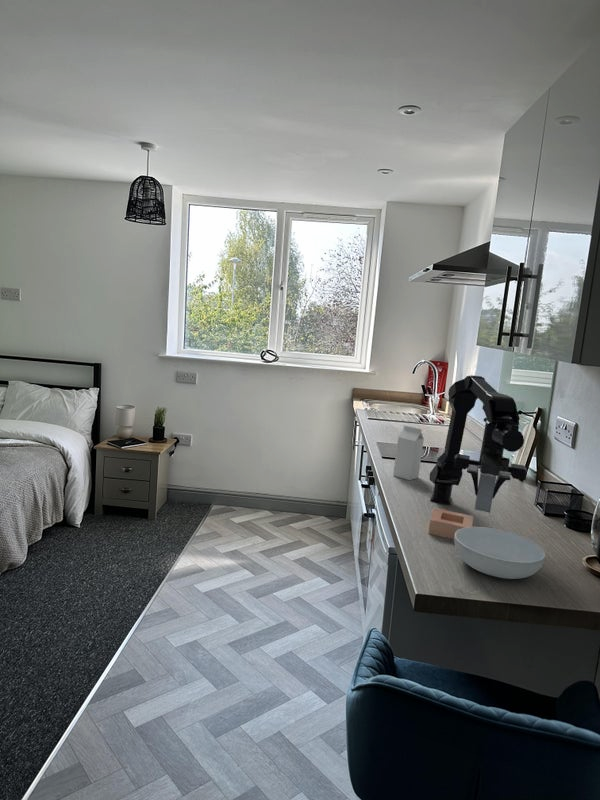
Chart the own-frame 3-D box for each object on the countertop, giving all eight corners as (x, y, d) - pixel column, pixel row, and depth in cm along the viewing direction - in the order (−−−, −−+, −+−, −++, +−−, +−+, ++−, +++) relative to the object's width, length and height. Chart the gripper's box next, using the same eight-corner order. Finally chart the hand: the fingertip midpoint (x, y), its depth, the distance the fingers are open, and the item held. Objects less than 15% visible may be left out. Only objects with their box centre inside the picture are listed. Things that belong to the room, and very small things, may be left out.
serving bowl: (521, 555, 143) (526, 530, 142) (555, 595, 123) (561, 566, 122) (442, 546, 144) (446, 521, 143) (462, 585, 123) (467, 556, 122)
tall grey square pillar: (475, 505, 154) (480, 470, 152) (489, 508, 153) (495, 473, 151) (474, 509, 150) (480, 474, 149) (490, 512, 149) (496, 477, 147)
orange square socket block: (432, 520, 162) (434, 508, 161) (471, 529, 158) (473, 516, 158) (428, 533, 151) (430, 519, 151) (469, 542, 148) (471, 528, 147)
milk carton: (410, 480, 201) (417, 430, 198) (392, 475, 205) (399, 426, 202) (418, 477, 207) (425, 428, 204) (401, 472, 211) (408, 424, 208)
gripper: (456, 441, 144) (447, 498, 146) (533, 454, 138) (522, 513, 141) (458, 433, 154) (450, 486, 157) (529, 445, 148) (519, 500, 151)
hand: (484, 496), depth 151 cm, fingers closed on tall grey square pillar, 4 cm apart
